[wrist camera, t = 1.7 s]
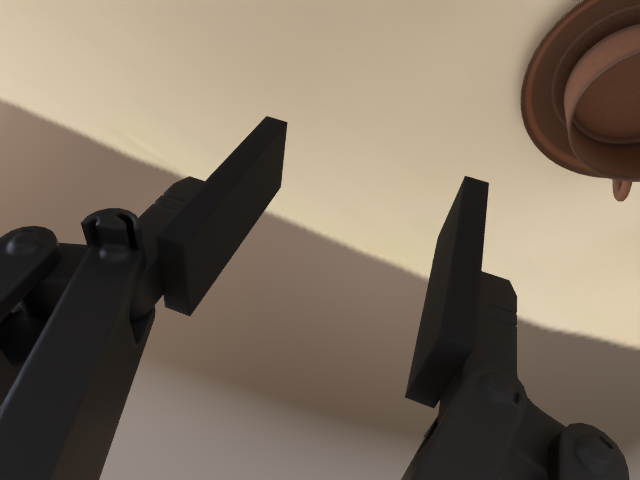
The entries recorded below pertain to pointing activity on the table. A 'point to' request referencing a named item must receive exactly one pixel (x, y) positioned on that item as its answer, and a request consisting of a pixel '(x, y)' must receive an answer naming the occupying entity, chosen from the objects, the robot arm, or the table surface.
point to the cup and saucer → (589, 92)
